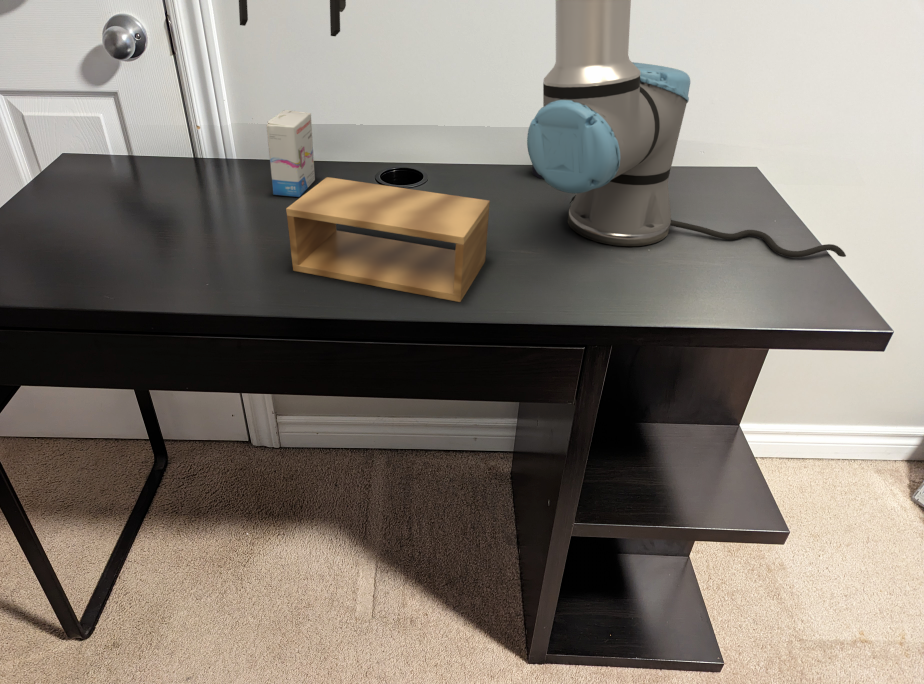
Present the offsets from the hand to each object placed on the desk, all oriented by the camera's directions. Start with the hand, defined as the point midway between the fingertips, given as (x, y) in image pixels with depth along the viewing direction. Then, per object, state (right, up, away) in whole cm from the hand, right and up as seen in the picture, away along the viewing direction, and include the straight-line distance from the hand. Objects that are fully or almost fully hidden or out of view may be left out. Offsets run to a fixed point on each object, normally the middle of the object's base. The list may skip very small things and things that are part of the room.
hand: (290, 28), depth 100 cm
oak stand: (+15, -36, -6) cm, 39 cm away
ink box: (-2, -19, +17) cm, 26 cm away
